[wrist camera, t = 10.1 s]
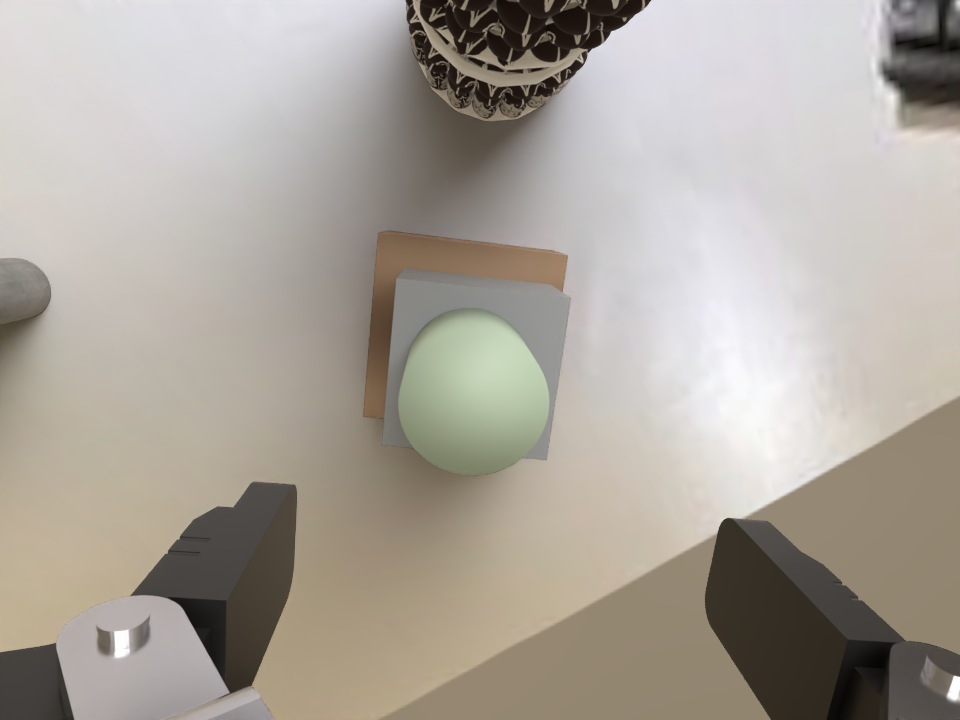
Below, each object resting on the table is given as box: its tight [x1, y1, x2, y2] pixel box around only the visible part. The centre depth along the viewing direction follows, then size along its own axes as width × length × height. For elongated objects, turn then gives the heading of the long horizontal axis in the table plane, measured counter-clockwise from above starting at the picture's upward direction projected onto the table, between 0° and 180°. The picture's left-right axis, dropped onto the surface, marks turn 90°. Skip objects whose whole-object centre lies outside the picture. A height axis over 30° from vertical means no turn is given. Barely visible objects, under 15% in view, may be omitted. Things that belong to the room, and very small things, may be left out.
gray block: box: [382, 268, 571, 460], centre depth 28 cm, size 7×7×5 cm
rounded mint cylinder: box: [398, 308, 549, 476], centre depth 23 cm, size 5×5×5 cm
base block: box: [363, 231, 568, 419], centre depth 33 cm, size 9×9×5 cm
